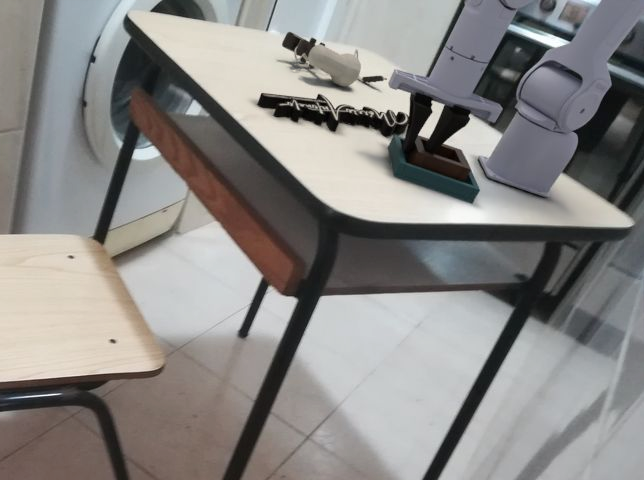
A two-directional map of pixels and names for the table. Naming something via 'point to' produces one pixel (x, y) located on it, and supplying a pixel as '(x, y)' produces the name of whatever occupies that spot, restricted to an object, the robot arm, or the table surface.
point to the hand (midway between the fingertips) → (414, 154)
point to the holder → (430, 175)
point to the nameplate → (333, 113)
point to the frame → (439, 160)
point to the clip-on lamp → (327, 60)
